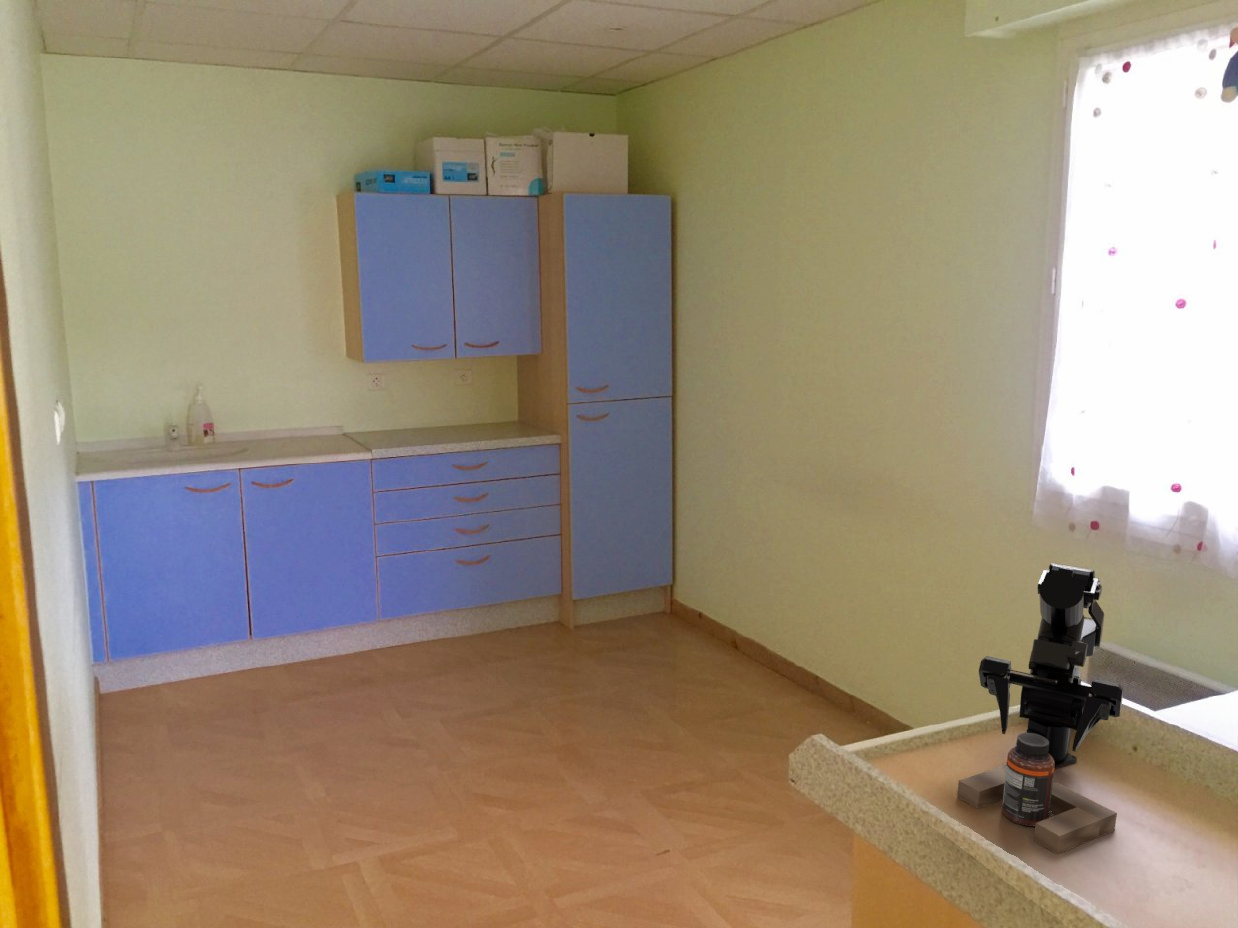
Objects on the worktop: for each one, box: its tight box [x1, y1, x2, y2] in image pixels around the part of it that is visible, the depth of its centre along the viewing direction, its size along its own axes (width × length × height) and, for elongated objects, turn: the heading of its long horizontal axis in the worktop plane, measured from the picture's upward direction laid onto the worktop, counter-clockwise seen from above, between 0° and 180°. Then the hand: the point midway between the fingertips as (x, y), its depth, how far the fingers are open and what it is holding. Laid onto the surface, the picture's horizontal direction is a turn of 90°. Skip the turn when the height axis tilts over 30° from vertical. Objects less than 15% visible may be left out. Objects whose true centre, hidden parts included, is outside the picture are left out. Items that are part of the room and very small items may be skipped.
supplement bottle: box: [1001, 732, 1055, 827], centre depth 139 cm, size 6×6×11 cm
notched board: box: [956, 764, 1118, 855], centre depth 141 cm, size 12×16×2 cm
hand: (1038, 741), depth 144 cm, fingers open, 9 cm apart
